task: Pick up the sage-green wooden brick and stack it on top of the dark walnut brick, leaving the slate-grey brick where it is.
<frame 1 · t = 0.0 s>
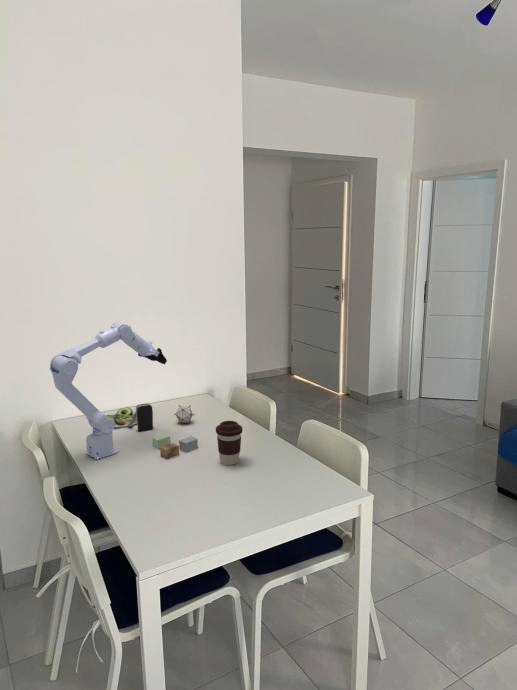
hand: (160, 360, 218), 32 cm above the table, tool tilted 50°, fingers open, 7 cm apart
green brick: (161, 446, 213), on the table
grey wireframe spiky ball: (184, 423, 238), on the table
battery: (144, 429, 230), on the table
coffee cup: (229, 461, 199), on the table
walnut brick: (170, 455, 204), on the table
salad plate: (121, 422, 240), on the table
grey brick: (188, 449, 210), on the table
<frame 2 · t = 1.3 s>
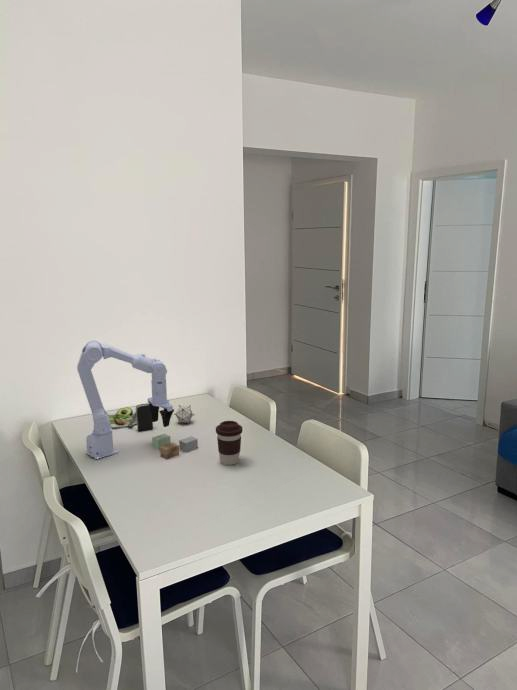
hand: (160, 423, 211), 9 cm above the table, tool pointing down, fingers open, 7 cm apart
nothing on the table moved.
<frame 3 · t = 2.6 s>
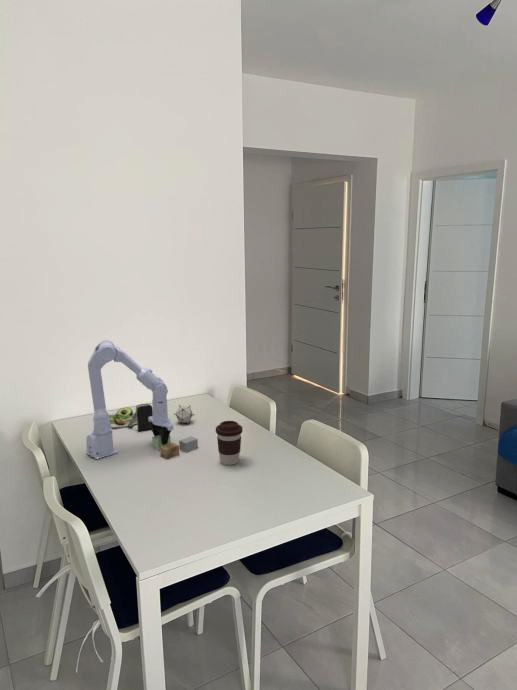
hand: (161, 442, 212), 1 cm above the table, tool pointing down, fingers closed on green brick, 4 cm apart
green brick: (161, 445, 213), on the table, touching gripper
everything else where it was.
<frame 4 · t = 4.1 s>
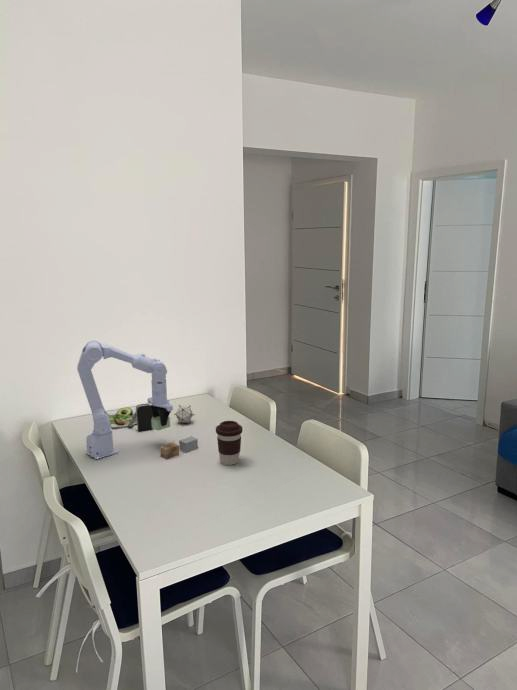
hand: (160, 423, 211), 9 cm above the table, tool pointing down, fingers closed on green brick, 4 cm apart
green brick: (160, 427, 211), point 8 cm above the table, touching gripper
everything else where it was.
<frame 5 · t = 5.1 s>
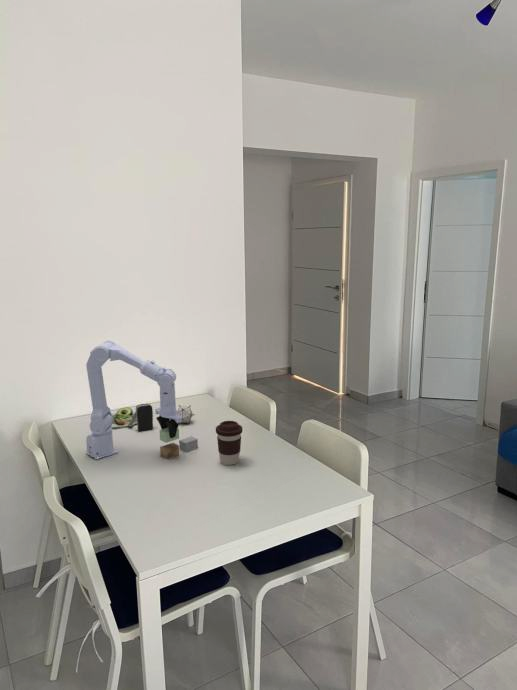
hand: (169, 435, 202), 8 cm above the table, tool pointing down, fingers closed on green brick, 4 cm apart
green brick: (169, 439, 202), point 7 cm above the table, touching gripper
everything else where it was.
when the fingers open (7 cm above the table, at t = 5.8 s): green brick drops 1 cm, resting on walnut brick.
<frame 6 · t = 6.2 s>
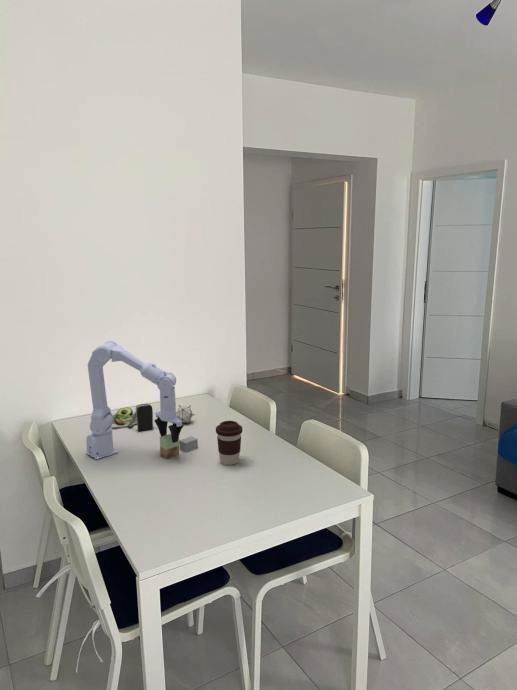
hand: (169, 439, 202), 7 cm above the table, tool pointing down, fingers open, 7 cm apart
green brick: (169, 446, 203), point 4 cm above the table, touching walnut brick
walnut brick: (170, 455, 204), on the table, touching green brick
everything else where it was.
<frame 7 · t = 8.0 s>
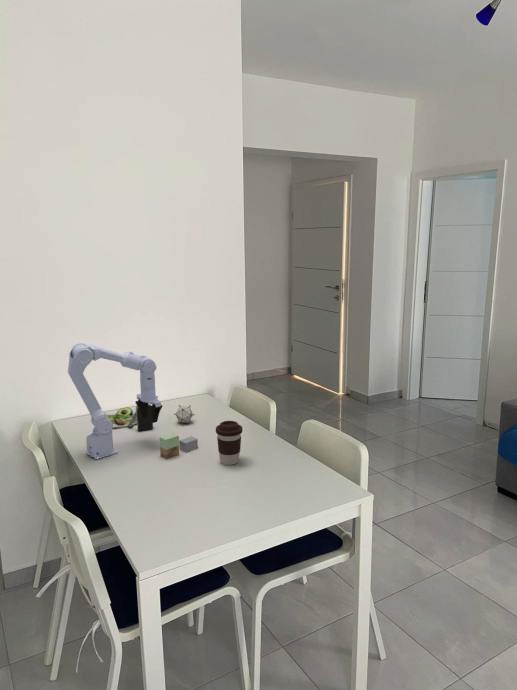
hand: (149, 419, 212), 10 cm above the table, tool pointing down, fingers open, 7 cm apart
green brick: (169, 446, 203), point 4 cm above the table
walnut brick: (170, 455, 204), on the table
everything else where it was.
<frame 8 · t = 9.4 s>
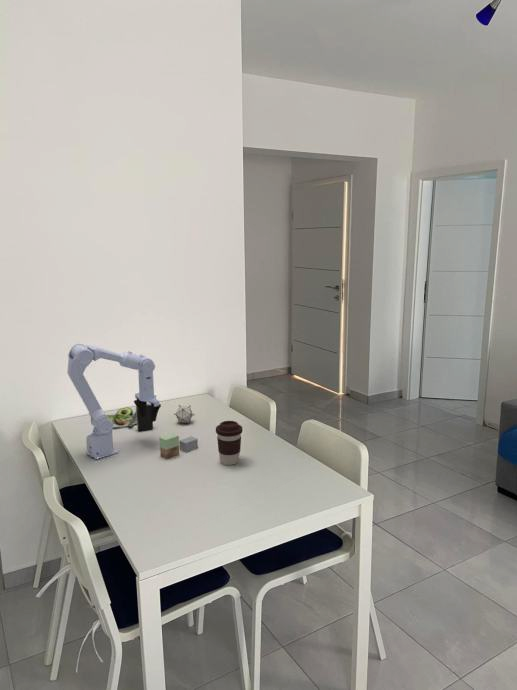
hand: (147, 418, 213), 10 cm above the table, tool pointing down, fingers open, 7 cm apart
green brick: (169, 446, 203), point 4 cm above the table, touching walnut brick
walnut brick: (170, 455, 204), on the table, touching green brick
everything else where it was.
at the end: green brick 0.1 cm off-centre on the walnut brick, point 4.0 cm above the walnut brick's base; green brick tilted 0°; grey brick moved 0.2 cm from its start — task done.
